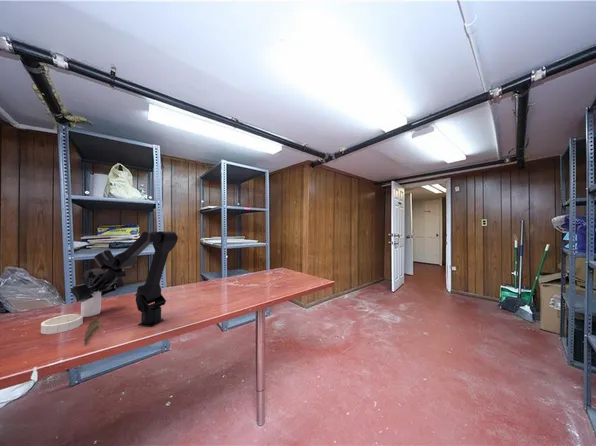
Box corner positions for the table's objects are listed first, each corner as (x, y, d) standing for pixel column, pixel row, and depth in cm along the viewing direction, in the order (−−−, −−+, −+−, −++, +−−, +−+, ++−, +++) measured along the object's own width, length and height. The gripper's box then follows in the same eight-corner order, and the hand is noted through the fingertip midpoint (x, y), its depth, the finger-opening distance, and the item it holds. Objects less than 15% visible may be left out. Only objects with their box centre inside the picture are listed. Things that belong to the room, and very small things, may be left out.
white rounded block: (88, 318, 93) (89, 290, 93) (76, 316, 94) (77, 289, 94) (104, 312, 99) (105, 286, 99) (93, 310, 100) (94, 285, 101)
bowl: (89, 322, 89) (89, 315, 89) (55, 335, 78) (55, 327, 78) (68, 319, 91) (69, 312, 91) (32, 332, 80) (32, 324, 80)
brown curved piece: (90, 344, 72) (90, 330, 72) (82, 346, 71) (82, 331, 71) (103, 326, 86) (103, 313, 86) (96, 327, 85) (96, 315, 85)
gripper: (120, 260, 106) (101, 281, 107) (75, 266, 87) (53, 292, 89) (133, 277, 104) (114, 297, 106) (89, 287, 86) (67, 312, 87)
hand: (89, 299), depth 97 cm, fingers closed on white rounded block, 5 cm apart
